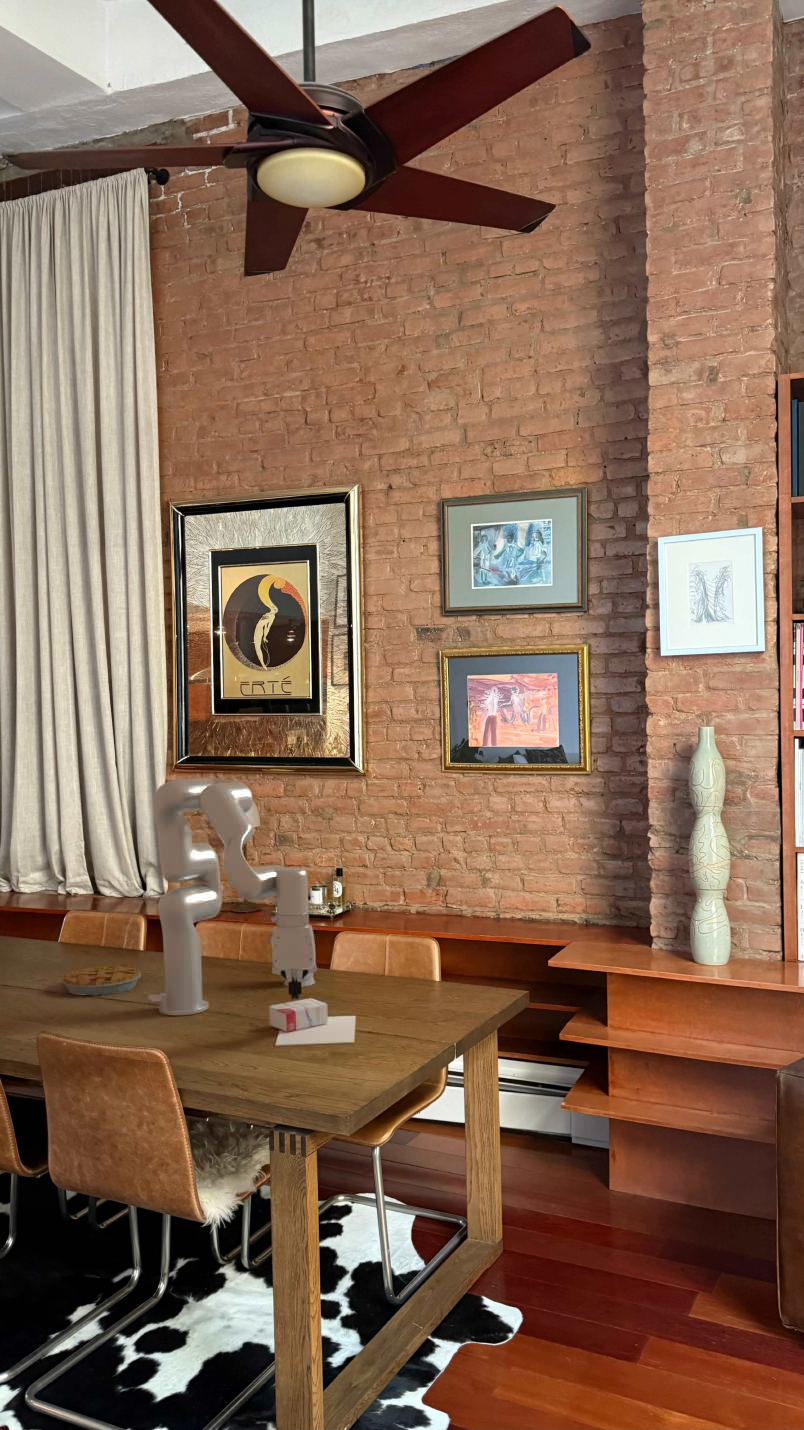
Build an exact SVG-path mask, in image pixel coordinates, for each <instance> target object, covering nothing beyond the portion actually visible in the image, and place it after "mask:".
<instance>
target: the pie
mask: <svg viewBox="0 0 804 1430" xmlns="http://www.w3.org/2000/svg"><path fill="white" fill-rule="evenodd" d="M141 977H142V973H141V971H140V968H137V967H136V966H130V967H129V966H127V965H125V964H121V965H118V966H115V965H108V966H100V965H95V966H94V967H91V968H87V967H86V968H85V967H84V968H80V969H79V970H71V971H70V972H69V973H68V974H65V975H64V976H63V979H62V980H61V982H62V983H63V984H64V985H65V987H66V989H67V991H68V990H69V991H70V992H72V993H75V994H86V995H95V994H107V995H112V994H111V993H114V994H117V993H116V992H120V993H123V992H122V991H124V992H127V990H128V991H131V990H132V989H134V988H135V987H136V985H137V982H138V980H139V979H140V978H141ZM133 987H134V988H133ZM69 991H68V992H69ZM70 992H69V993H70ZM95 996H96V995H95Z"/></svg>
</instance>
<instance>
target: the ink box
mask: <svg viewBox="0 0 804 1430" xmlns="http://www.w3.org/2000/svg"><path fill="white" fill-rule="evenodd" d="M268 1007H269V1011H268V1012H269V1025H270V1026H272V1027H274V1028H275V1029H279V1031H280V1030H282V1031H284V1032H286V1033H287V1032H291V1031H295V1030H299V1029H303V1028H308V1027H312V1026H316V1025H321V1024H325V1023H328V1019H327V1017H328V1004H327V1002H323V1001H320V1000H318V999H315V998H312V997H311V998H310V997H309V998H305V999H298V1000H294V1001H287V1002H285V1003H284V1002H283V1003H279V1004H273V1005H269V1006H268Z"/></svg>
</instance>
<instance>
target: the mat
mask: <svg viewBox="0 0 804 1430" xmlns="http://www.w3.org/2000/svg"><path fill="white" fill-rule="evenodd" d="M356 1017H357V1015H344V1016H343V1015H342V1016H341V1015H340V1016H327V1019H328V1023H325V1024H321V1025H316V1026H312V1027H308V1028H303V1029H299V1030H295V1031H291V1032H287V1033H286V1032H284V1031H282V1030H280V1029H279V1032H278V1035H277V1037H276V1042H275V1047H285V1046H311V1045H316V1046H317V1045H334V1044H335V1045H337V1044H339V1045H340V1044H354V1043H355V1038H356V1037H355V1035H356V1033H355V1032H356V1022H357V1021H356Z"/></svg>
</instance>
